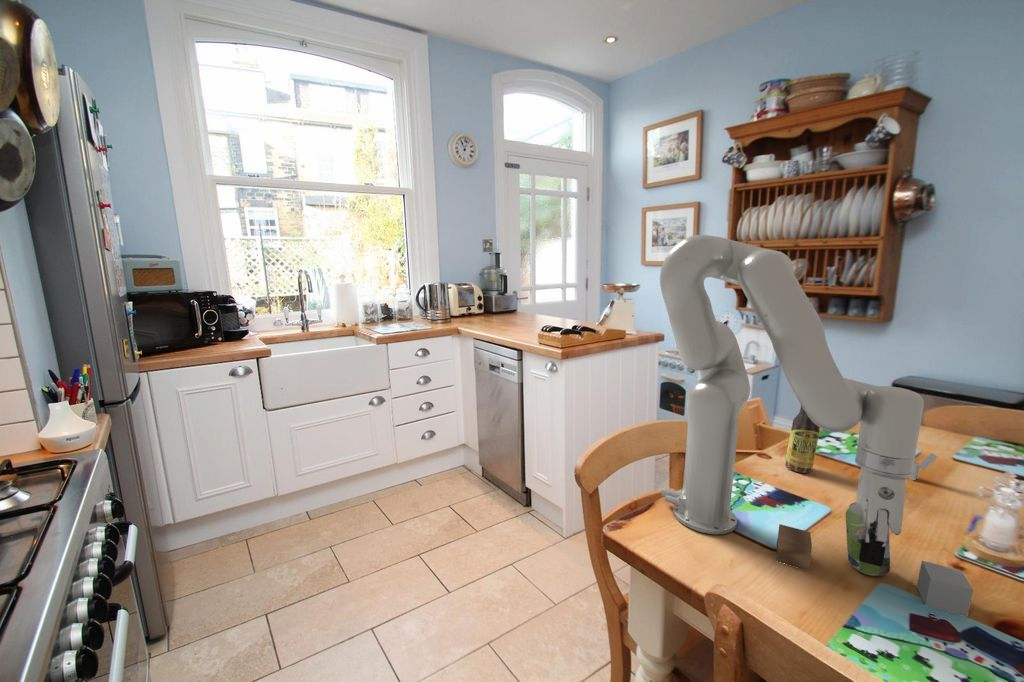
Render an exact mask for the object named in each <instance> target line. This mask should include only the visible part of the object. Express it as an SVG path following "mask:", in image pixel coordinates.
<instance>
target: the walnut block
mask: <svg viewBox="0 0 1024 682" xmlns="http://www.w3.org/2000/svg"><path fill="white" fill-rule="evenodd" d="M778 525H779V526H778V532H777V537H776V538H777V539H776V546H777V553H776V552H775V553H776V554H777V556H776V557H777V559H776V557H775V559H776V560H777V561H778V562H777V563H779V562H781V563H780V564H782V563H785V564H784V565H786V564H787V566H789V565H791V566H790V567H793V566H794V567H793V568H796V567H797V568H796V569H799V570H804V571H807V572H809V570H810V565H811V556H812V550H813V544H812V543H813V542H812V537H811V536H812V535H811V531H808V530H804V529H799V528H796V527H792V526H789V525H785V524H782V523H781V524H780V523H779V524H778ZM776 560H775V561H776Z"/></svg>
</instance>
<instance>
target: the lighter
mask: <svg viewBox="0 0 1024 682" xmlns="http://www.w3.org/2000/svg"><path fill="white" fill-rule="evenodd" d="M937 458H938V456H937V455H936V454H934V453H933V452H932V453H930V454H928V456H927V457H925V458H924V459H923V460H922V461H921V462H920V463H918V462H915V460H916V459H914V464H913V470H912V475H911V476H910V477H906V478H909V479H912V480H916V479H917V480H918V478H919V477H918V476H919V472H920V468H921V469H923V470H925V469H927V468H928V467H929V466H930V465H931V464H933V462H934V461H935V460H937ZM906 478H905V479H906ZM909 479H908V480H909ZM912 480H911V481H912ZM917 480H916V481H917Z"/></svg>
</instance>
